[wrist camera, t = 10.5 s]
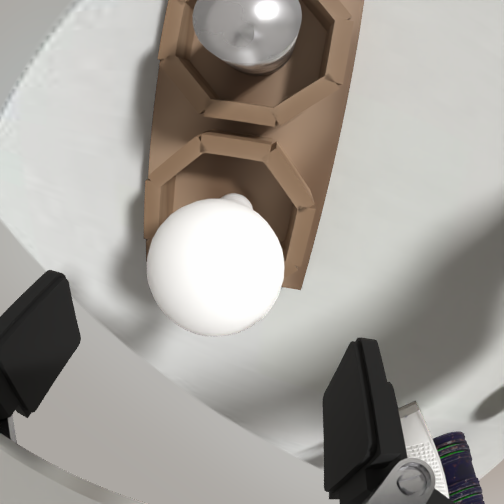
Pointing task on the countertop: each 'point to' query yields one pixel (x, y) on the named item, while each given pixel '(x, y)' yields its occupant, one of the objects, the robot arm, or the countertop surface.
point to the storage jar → (458, 469)
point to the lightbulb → (215, 266)
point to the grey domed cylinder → (249, 32)
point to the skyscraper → (421, 443)
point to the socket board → (252, 126)
